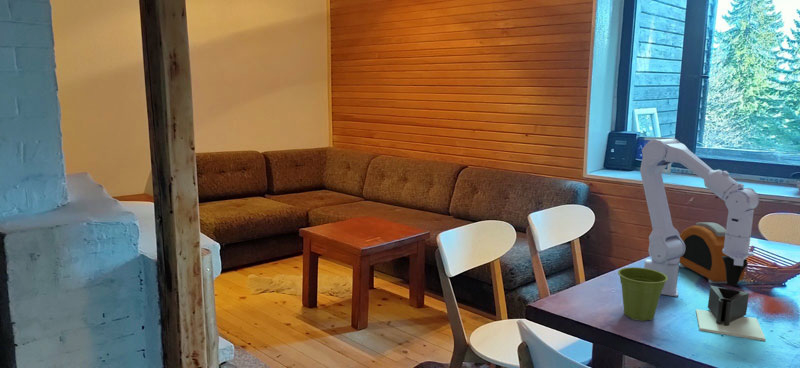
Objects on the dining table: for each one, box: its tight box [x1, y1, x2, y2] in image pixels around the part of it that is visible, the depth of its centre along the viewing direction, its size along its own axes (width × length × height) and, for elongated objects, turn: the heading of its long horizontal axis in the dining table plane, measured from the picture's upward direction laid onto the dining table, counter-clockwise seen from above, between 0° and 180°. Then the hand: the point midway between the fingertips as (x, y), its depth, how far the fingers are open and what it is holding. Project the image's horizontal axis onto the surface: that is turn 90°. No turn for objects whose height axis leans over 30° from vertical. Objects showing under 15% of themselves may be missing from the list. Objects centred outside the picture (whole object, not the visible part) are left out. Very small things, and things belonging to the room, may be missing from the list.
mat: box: [695, 308, 766, 342], centre depth 151 cm, size 14×14×1 cm
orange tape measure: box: [679, 221, 746, 284], centre depth 190 cm, size 23×9×17 cm, turn 6°
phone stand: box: [707, 285, 750, 326], centre depth 154 cm, size 9×6×12 cm
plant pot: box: [617, 266, 668, 322], centre depth 154 cm, size 12×12×11 cm
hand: (731, 284), depth 159 cm, fingers closed
